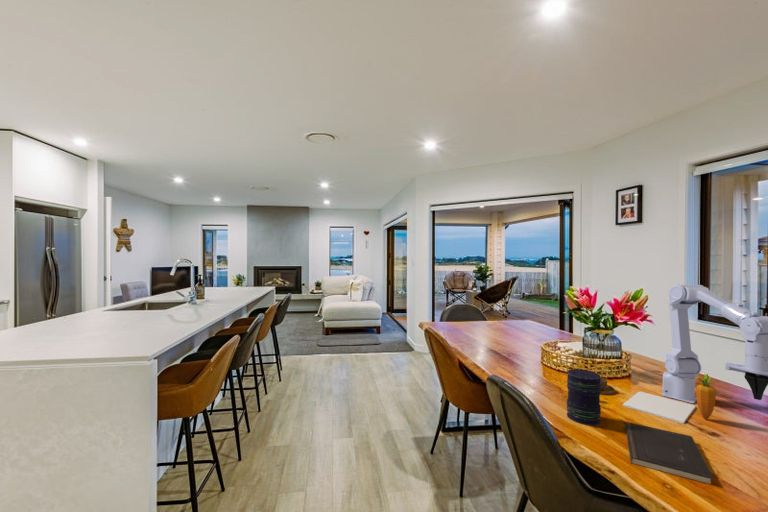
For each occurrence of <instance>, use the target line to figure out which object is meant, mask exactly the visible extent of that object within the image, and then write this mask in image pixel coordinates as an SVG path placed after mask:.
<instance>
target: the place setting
mask: <svg viewBox="0 0 768 512" xmlns="http://www.w3.org/2000/svg"><path fill="white" fill-rule="evenodd" d="M600 381H601V394H600V395H604V396H606V395H607V396H608V395H613V394H614V393H615V390H616V389H615V388H614V387H613V386H611V385H609V384H608V380H607V379H606V378H604V377H602V376H601V380H600ZM605 389H608V390H610V391H604V390H605ZM604 399H605V400H607V398H606V397H604Z"/></svg>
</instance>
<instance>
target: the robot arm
mask: <svg viewBox="0 0 768 512" xmlns="http://www.w3.org/2000/svg"><path fill="white" fill-rule="evenodd" d="M668 297H669V302H668V308H669V319H670V331H671V332H670V333H671V341H672V342H671V343H672V345H671V346H672V349H670V350H669V351H668V352H666V353H665V361H664V367H665V369H666V371H664V372H663V374H662V386H661V387H662V390H661V391H662V392H661V393H662V394H661V397H664V398H668V399H672V400H676V401H680V402H684V403H688V404H689V403H690V404H695V403H696V402H697V396H696V395H695V394H696V393H695V390H696V378H697V377H698V375H699V374H700V373H701V372H702V365H701V362H700V361H699V356H698V355H697V353H696V352H694V351H692V343H691V335H690V334H691V333H690V324H689V323H690V322H689V321H690V320H689V313H688V312H689V308H691V307H692V306H694V305H697V304H698V303H701V302H703V303H705V304H706V305H709V307H712V308H715V309H717V310H719V311H720V313H721V315H722V317H724V318H725V319H727V320H729V321H730V322H731V323H732V322H733V323H734V324H735V325H737V326H739V328H740V331H741V332H742V333H743V334H742V335H743V338H744V339H745V341H744V342H745V343H744V345H745V346H744V348H745V349H744V364H738V363H737V364H735V363H732V362H731V363H730V362H726V363H725V364H724V365H725V370H727V371H734V372H738V373H743V374H744V377H743V378H744V379H745V381H746V382H747V384H748V385H749V387H750V390H751V393H752V396H753V397H752V398H753V400H757V401H762V399H763V395H764V393H765V390H766V389H767V386H768V316H766V315H762V316H761V315H759V313H758V312H756V311H752V310H750V309H748V308H746V306H745V307H744V304H742V303H739V302H728V301H726V300H725V299H723V298H722V297H720V296H718V295H717V294H715V293H714V292H712V291H710V289H709V287H707V286H704V285H702V284H674V285H673V286H671V287H670V288H669V289H668Z"/></svg>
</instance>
